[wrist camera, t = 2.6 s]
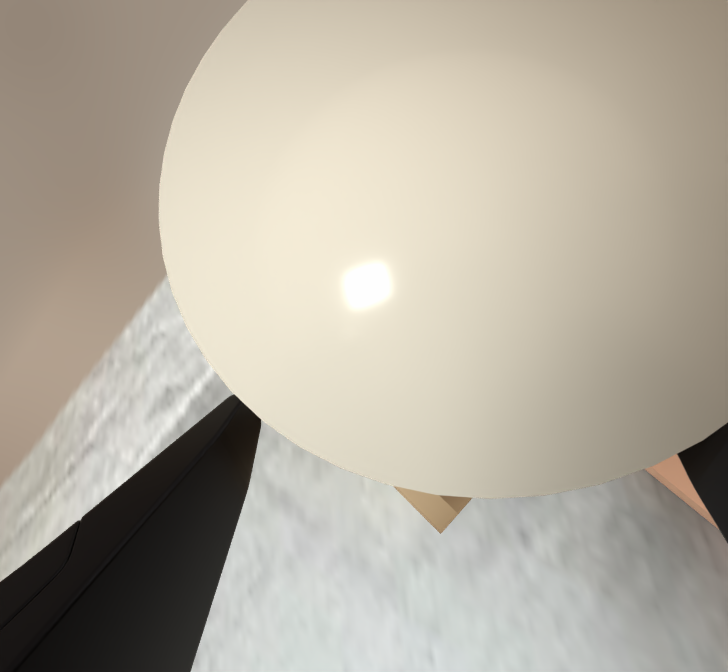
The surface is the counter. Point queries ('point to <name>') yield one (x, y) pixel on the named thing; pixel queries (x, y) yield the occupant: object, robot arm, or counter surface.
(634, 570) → the counter surface
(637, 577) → the counter surface
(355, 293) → the jug
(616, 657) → the counter surface
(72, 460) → the counter surface
